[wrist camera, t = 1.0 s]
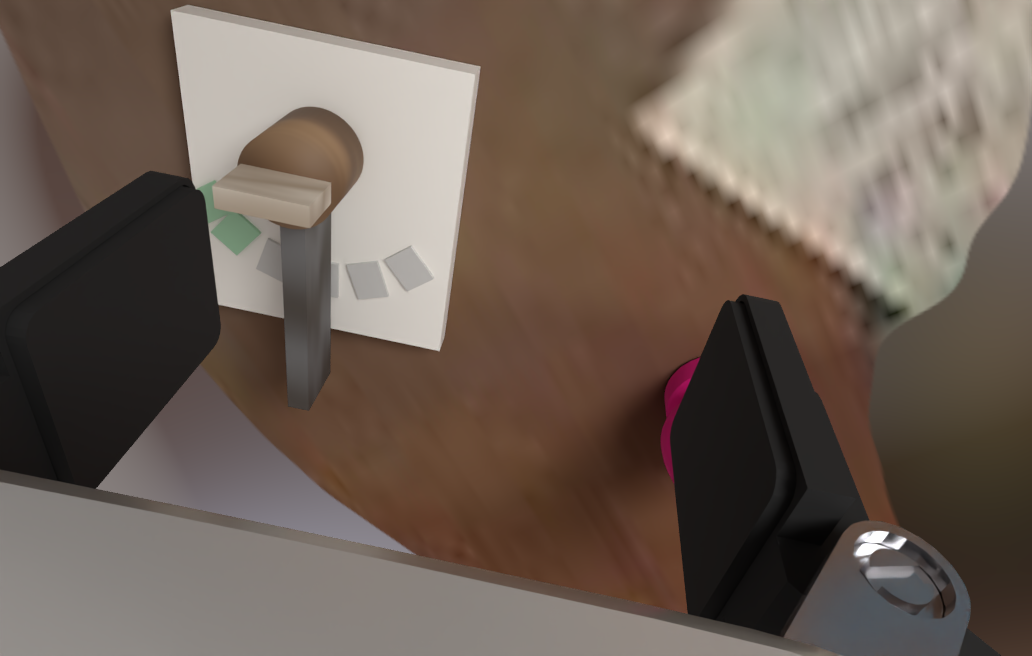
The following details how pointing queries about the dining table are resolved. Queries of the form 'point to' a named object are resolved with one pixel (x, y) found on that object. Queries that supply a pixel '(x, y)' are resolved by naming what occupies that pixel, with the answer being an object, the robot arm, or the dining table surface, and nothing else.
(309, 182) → the brown grey handled piece
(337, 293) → the dial board
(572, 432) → the dining table surface
